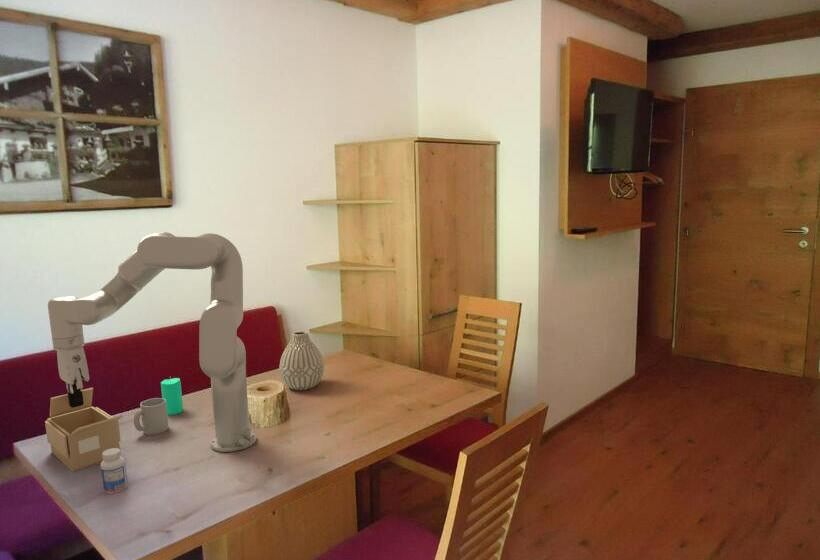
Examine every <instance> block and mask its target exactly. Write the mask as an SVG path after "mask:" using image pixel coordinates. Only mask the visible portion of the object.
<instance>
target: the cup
mask: <svg viewBox="0 0 820 560" xmlns="http://www.w3.org/2000/svg"><path fill="white" fill-rule="evenodd" d="M139 406H140V409H138V410H137V411H136V412H135V413H134V416H133V425H134V428H135V429H136V430H137V431H138V432H143V433H144V434H145V435H150V436H151V435H152V436H153V435H159V434H163V433H164V432H166V431H168V429H169V419H168V418H169V417H168V416H169V415H167V406H166V400H165V399H163V398H162V397H153V398H149V399H146V400H143V401H141V402H140V404H139ZM140 418H141V423H142V424H141V423H140Z"/></svg>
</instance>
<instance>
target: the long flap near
mask: <svg viewBox="0 0 820 560" xmlns="http://www.w3.org/2000/svg"><path fill="white" fill-rule="evenodd" d="M122 418H124V417H123V414H122V415H118V416H114V417H113V418H110V419H107V420H103V421H100V422H96V423H93V424H89V425H86V426H83V427H79V428H77V429H76V430H75V431H73V432H72V433H71V434H72V435H74V434H77V433H81V432H84V431H87V430H91V429H94V428H98V427H101V426H104V425H108V424H111V423H114V422H116V421H118V422H119V420H120V419H122Z"/></svg>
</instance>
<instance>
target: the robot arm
mask: <svg viewBox="0 0 820 560" xmlns="http://www.w3.org/2000/svg"><path fill="white" fill-rule="evenodd" d="M208 268H210V269H211V277H210V303H209V305H208V306H207V307H206V308H205V309H204V310H203V311H202V313H201V316H200V320H199V329H198V330H199V331H198V332H199V336H198V337H199V338H198V341H199V342H198V346H199V348H198V349H199V353H198V354H199V355H198V356H199V357H198V360H199V367H200V368H201V370H202V372H203V373H204V375H206V376H207V377H209V378H210V385H211V386H210V387H211V388H210V389H211V398H212V399H211V400H212V410H213V411H212V412H213V413H212V414H213V421H214V424H213V425H214V434H215V436H214V437H213V438H211V440H210V448H211V449H212V450H214V451H216V452H221V453H222V452H223V453H230V452H238V451H241V450H244V449H247V448H249V447H251V446H253V445H254V444H255V443H256V442H257V434H256V433H255V432H253V431H251V427H250V426H251V424H250V423H251V422H250V412H249V402H248V401H249V400H248V398H249V397H248V386H247V366H246V365H247V355H246V354H247V352H246V346H245V344H244V342H243V341H242V339H241V338H240V337H239V336H237V335H238V334H237V332H238V328H239V327H240V325H241V324H242V322H243V320H244V319H243V318H244V285H243V284H244V272H243V271H244V267H243V261H242V257H241V254H240V252H239V250H238V248H237V247H236V246H235V244H233V243H232V242H231V240H229V239H227V238H226V237H224V236H222V235H220V234H217V233H212V232H211V233H210V232H209V233H204V234H200V235H197V236H176V235H174V234H173V233H170V232H167V231H159V232H156V233H153V234H149V235H148V234H147V235H146V236H144V237H143V238H142V239H141V240H140V242H139V243H138V244H137V249H136V250H134V252H133V253H131V254H130V255H129V256H127V258H125V259H124V260H123V261H122V262H120V263H119V265H118V268H117V269H118V271H117V273H116V275H115V276H114V277H113V278H112V279H111V280H110V281H108V282H107V283H106V284H105V285H104V286H103V287H102V288H101V289H100V290H98V291H97V292H94V293H92V294H90V295H87V296H85V297H82V298H78V297H77V296H73V295H66V296H58V297H54V298H51V299H50V300H49V301H48V303H47V310H48V317H49V326H50V333H51V341H52V348H53V350H54V351H56V357H57V368H58V375H59V378H60V380H61V381H64V383H65V384H66V385H65V386H66V391H67V394H68V399H69V406H70V407H72V408H74V407H77V406H81V405H83V404H84V402H83V394H82V390H83V388H84V385H83V381H84V382H89V380H90V374H89V367H88V363H87V362H88V361H87V357H86V353H85V350H84V346H85V337H84V329H83V326H92V325H95V324H97V323H100V322H102V321H103V320H105V319H107V318H109V317H111V316H113V315H114V314H116V313H117V312H118V311H119V310H120V309H121V308H123V307H124V306H125V305H126V304H127V303H128V302H130V301H131V300H132V299H133V298H134V297H135V296H136V295H137V294H138V293H139V292H141V291H142V290H143V289H144V288H145V287H146V286H147V285H148V284H149V283H150V282H152V281H153V280H154V278H156V277H157V276H158V275H159V274H160V273H162V272H163V271H165V269H166V270H168V269H173V270H174V269H175V270H176V269H177V270H203V269H204V270H205V269H208Z"/></svg>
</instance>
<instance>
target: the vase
mask: <svg viewBox="0 0 820 560" xmlns="http://www.w3.org/2000/svg"><path fill="white" fill-rule="evenodd" d="M324 362H325V361H324V358H323V356H322V354H321V351H320V350H319V348H318V347H317V346H316V344H315V343H314V342H313V341H312V340H311V338H310V335H309V333H308V332H307V331H304V330H300V331H299V330H298V331H294V332H292V334H291V336H290V340H289V341H288V343H287V345H286V347H285V348H284V350H283V352H282V354H281V357H280V361H279V365H278V366H279V368H278V369H279V370H278V371H279V373H280V378H281V379H282V382H284V384H285V385H286V386H287V387H288V388H290V389H292V390H294V391H307V390H310V389H314V388H315V387H316V386H317V385H318V384H319V382H321V380H322V378H323V376H324V372H325V363H324Z"/></svg>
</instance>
